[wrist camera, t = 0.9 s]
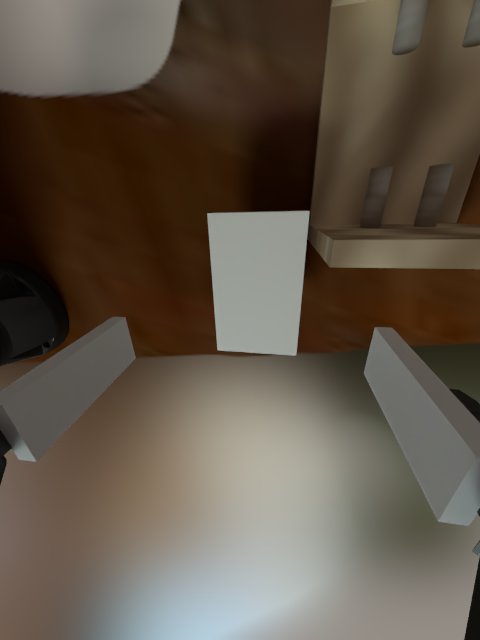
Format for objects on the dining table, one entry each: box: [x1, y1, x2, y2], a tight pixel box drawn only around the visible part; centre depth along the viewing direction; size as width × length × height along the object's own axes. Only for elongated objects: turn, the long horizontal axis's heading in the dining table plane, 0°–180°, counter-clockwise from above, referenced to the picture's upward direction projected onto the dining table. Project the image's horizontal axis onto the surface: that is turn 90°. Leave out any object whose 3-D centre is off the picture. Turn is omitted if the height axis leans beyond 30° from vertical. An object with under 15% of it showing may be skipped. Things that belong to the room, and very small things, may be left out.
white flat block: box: [207, 211, 310, 355], centre depth 23 cm, size 8×13×3 cm, turn 1°
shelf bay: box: [308, 0, 480, 269], centre depth 16 cm, size 14×19×14 cm
